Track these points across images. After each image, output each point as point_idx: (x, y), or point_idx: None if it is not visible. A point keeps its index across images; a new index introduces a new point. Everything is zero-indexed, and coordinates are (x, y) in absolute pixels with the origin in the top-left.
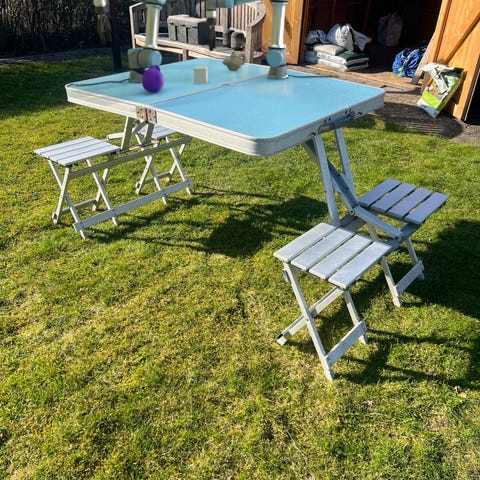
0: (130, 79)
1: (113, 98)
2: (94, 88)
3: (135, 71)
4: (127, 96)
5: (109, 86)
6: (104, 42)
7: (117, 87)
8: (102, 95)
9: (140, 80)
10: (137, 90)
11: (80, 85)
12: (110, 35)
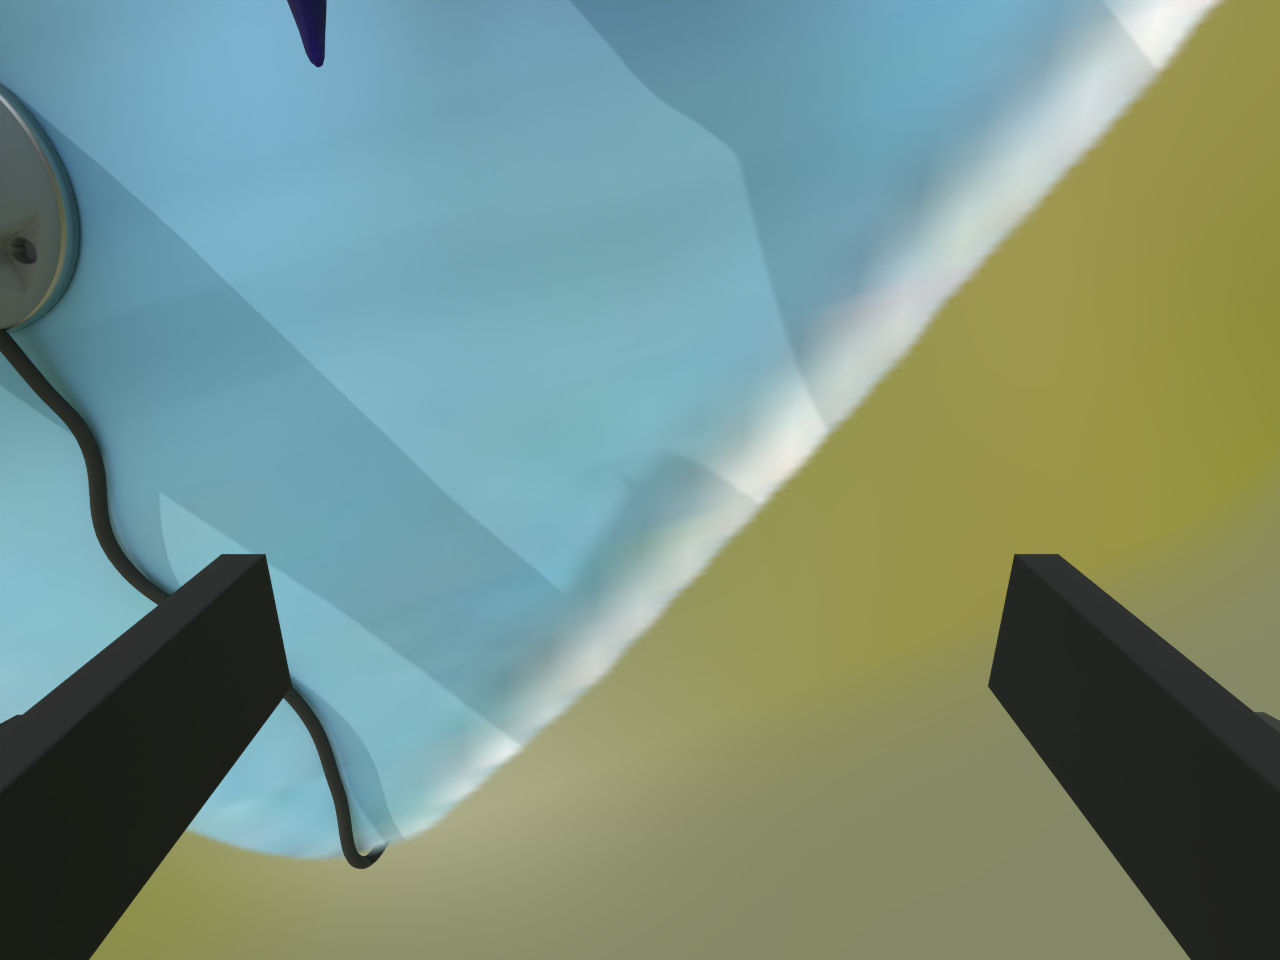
0: (33, 296)
1: (944, 257)
2: (437, 612)
3: (324, 32)
4: (864, 104)
5: (323, 490)
6: (1089, 595)
7: (366, 382)
8: (777, 429)
9: (26, 138)
10: (522, 57)
11: (338, 772)
12: (120, 691)
